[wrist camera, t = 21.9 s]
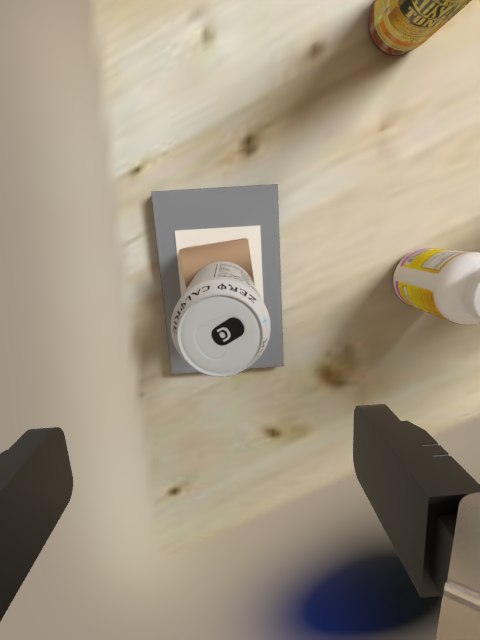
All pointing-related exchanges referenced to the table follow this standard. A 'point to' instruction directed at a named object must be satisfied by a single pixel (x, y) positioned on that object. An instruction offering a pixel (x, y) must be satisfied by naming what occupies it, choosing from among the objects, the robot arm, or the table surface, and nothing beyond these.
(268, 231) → the base board
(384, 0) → the sauce bottle
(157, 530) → the table surface
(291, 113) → the table surface
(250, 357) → the energy drink can
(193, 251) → the walnut block
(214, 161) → the table surface
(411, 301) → the supplement bottle
